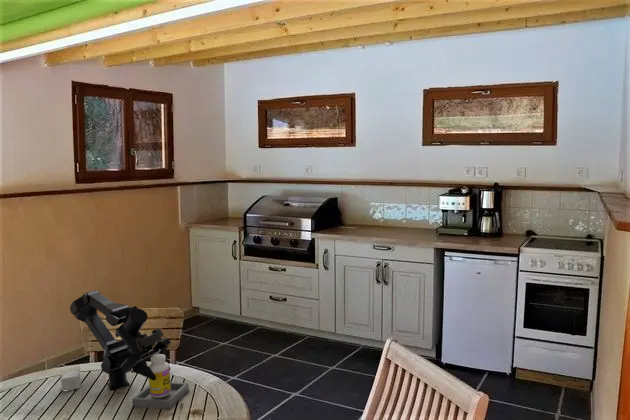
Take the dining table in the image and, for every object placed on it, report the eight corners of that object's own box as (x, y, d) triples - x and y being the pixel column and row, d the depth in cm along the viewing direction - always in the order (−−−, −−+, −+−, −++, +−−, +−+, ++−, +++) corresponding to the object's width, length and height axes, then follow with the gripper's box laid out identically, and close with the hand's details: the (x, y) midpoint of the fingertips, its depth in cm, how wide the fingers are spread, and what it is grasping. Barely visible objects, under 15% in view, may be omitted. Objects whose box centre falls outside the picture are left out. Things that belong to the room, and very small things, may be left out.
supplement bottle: (165, 399, 169) (162, 361, 167) (146, 398, 170) (143, 360, 168) (174, 389, 175) (171, 353, 174) (156, 388, 176) (153, 352, 175)
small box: (64, 385, 186) (62, 372, 186) (81, 382, 188) (80, 369, 187) (61, 392, 181) (60, 378, 180) (79, 389, 182) (78, 376, 182)
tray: (132, 406, 168) (132, 398, 168) (154, 387, 180) (153, 380, 180) (169, 409, 165) (168, 401, 164) (188, 390, 177) (188, 383, 177)
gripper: (124, 333, 163) (155, 372, 160) (164, 314, 180) (193, 349, 177) (107, 354, 167) (137, 393, 164) (148, 334, 184) (176, 368, 181)
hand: (162, 375), depth 171 cm, fingers closed on supplement bottle, 6 cm apart
